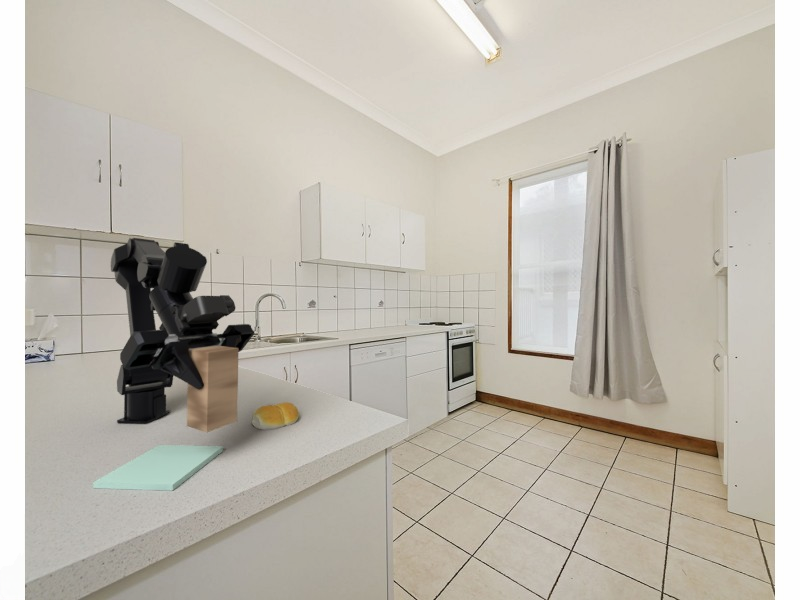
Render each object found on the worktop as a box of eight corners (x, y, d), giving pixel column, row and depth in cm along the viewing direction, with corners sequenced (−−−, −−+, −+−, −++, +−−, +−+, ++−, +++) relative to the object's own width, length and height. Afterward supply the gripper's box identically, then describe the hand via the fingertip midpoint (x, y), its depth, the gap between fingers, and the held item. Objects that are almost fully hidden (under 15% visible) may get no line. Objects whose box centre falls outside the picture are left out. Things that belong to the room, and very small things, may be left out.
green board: (93, 488, 42) (93, 482, 42) (159, 449, 53) (159, 444, 53) (172, 490, 42) (172, 484, 42) (222, 451, 52) (222, 446, 52)
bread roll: (305, 421, 66) (305, 403, 66) (263, 434, 60) (263, 413, 60) (286, 412, 72) (287, 394, 72) (246, 422, 65) (246, 403, 65)
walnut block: (186, 425, 49) (188, 349, 49) (217, 415, 53) (218, 345, 53) (206, 432, 47) (208, 352, 47) (237, 421, 51) (238, 348, 51)
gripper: (131, 274, 43) (176, 361, 39) (248, 282, 60) (290, 343, 55) (103, 327, 47) (141, 413, 42) (221, 320, 64) (258, 382, 59)
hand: (218, 383), depth 49 cm, fingers closed on walnut block, 5 cm apart
